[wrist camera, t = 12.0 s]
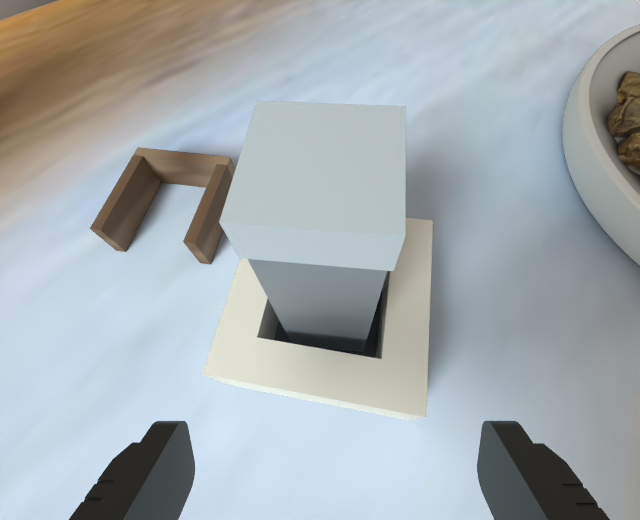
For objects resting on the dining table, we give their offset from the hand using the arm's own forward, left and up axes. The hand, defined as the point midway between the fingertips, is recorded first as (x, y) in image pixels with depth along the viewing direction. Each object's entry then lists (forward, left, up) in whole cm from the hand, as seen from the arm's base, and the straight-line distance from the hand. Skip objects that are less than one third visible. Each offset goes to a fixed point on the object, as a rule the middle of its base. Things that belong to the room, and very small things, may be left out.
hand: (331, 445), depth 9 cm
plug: (-1, +7, -11) cm, 13 cm away
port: (-1, +7, -11) cm, 13 cm away
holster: (-14, +13, -11) cm, 22 cm away
